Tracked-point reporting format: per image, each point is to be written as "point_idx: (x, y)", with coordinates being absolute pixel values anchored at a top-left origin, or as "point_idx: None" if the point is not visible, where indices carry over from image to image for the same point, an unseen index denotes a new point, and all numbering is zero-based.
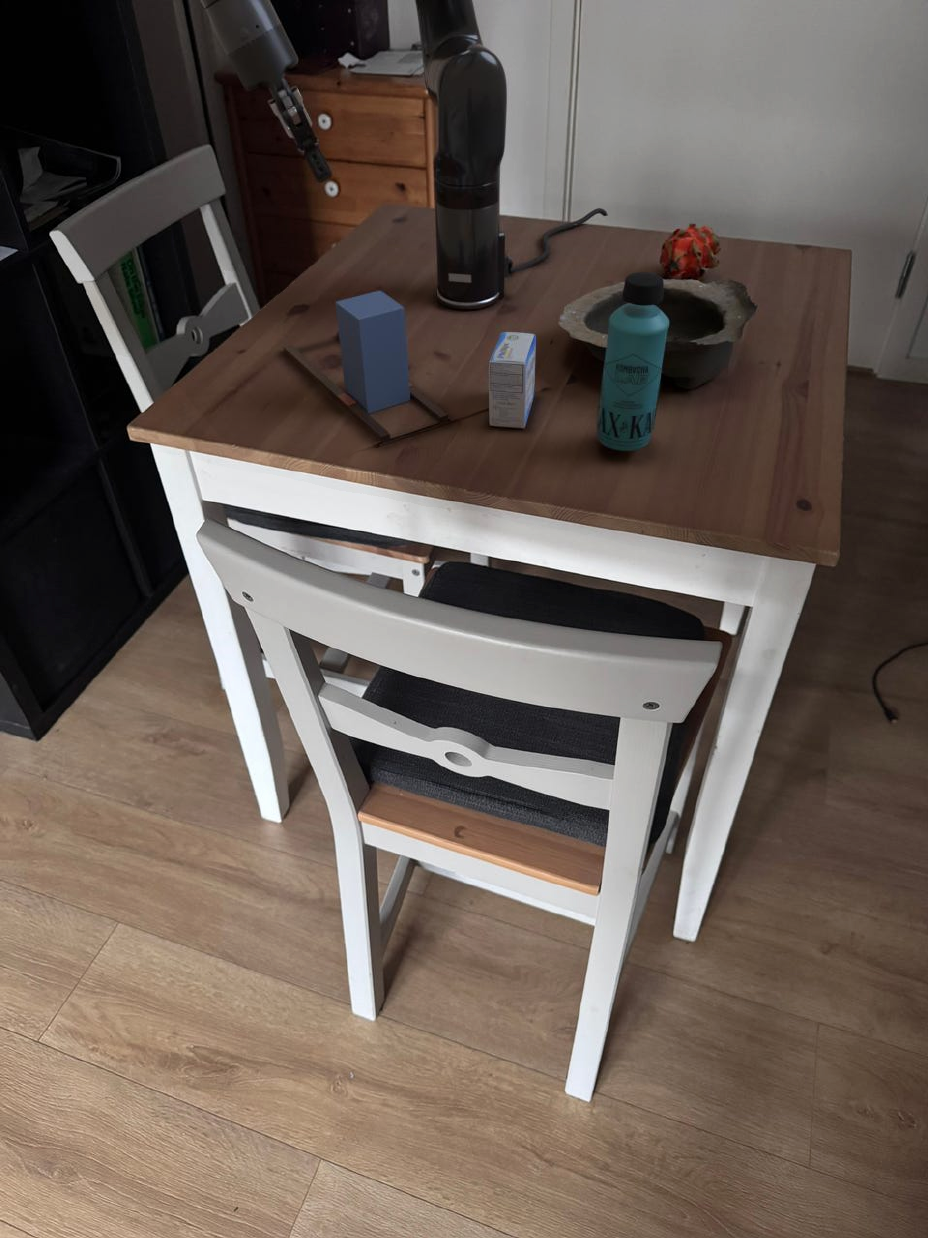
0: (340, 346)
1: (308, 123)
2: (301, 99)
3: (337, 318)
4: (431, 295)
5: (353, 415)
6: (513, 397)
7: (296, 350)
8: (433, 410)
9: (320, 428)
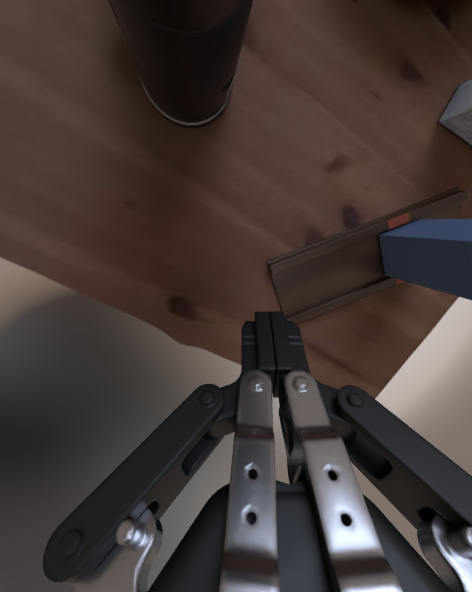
0: (424, 286)
1: (451, 462)
2: (396, 581)
3: (454, 294)
4: (167, 133)
5: None
6: None
7: (300, 315)
8: (455, 202)
9: (415, 298)
